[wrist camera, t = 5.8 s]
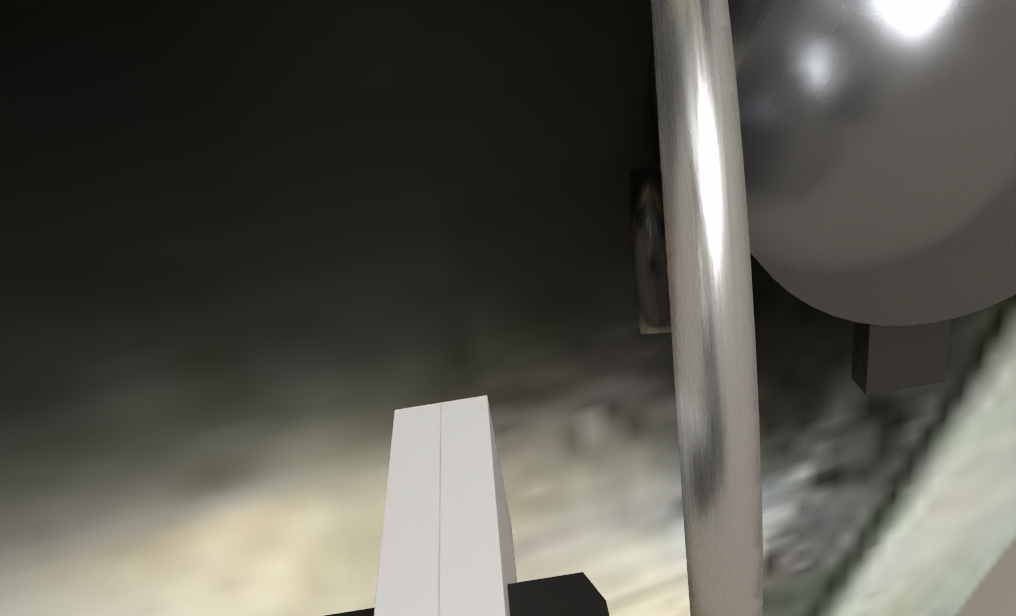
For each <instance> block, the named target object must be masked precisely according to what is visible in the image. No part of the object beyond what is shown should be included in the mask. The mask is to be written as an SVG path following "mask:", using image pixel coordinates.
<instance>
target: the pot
mask: <svg viewBox="0 0 1016 616" xmlns="http://www.w3.org/2000/svg"><path fill="white" fill-rule="evenodd" d="M728 7H729V15H730V24H731V33H732V43H733V53H734V63H735V73H736V83H737V93H738V104H739V116H740V127H741V139H742V151H743V162H744V175H745V189H746V202H747V216H748V230H749V243H750V252H751V254H752V255H753V256H754V257H755V258H756V259H757V260H758V262H759V263H760V264H761V265H762V266H763V267H764V269H765V270H766V271H767V272H768V273H769V274H770V275H771V277H772V278H773V279H774V280H776V281H777V282H778V283H779V284H780V285H781V286H783V287H784V288H785V289H786V290H787V291H788V292H790V293H791V294H792V295H794V296H795V297H797V298H799V299H800V300H802V301H803V302H805V303H807V304H808V305H810V306H811V307H814V308H816V309H818V310H821V311H823V312H825V313H828V314H830V315H832V316H836V317H839V318H843V319H847V320H850V321H854V340H853V360H852V379H853V380H854V382H855V383H856V384H857V385H858V386H859V387H860V389H861V390H862V391H863V392H864V393H865V394H866V395H868V394H874V393H880V392H886V391H891V390H897V389H903V388H909V387H915V386H921V385H927V384H933V383H939V382H944V381H945V372H946V363H947V354H948V346H949V337H950V328H951V319H952V318H957V317H961V316H964V315H967V314H970V313H973V312H976V311H979V310H982V309H985V308H987V307H990V306H992V305H994V304H996V303H999V302H1001V301H1003V300H1005V299H1007V298H1010V297H1012V296H1014V295H1016V0H728ZM650 92H651V99H652V107H653V113H654V117H655V121H656V113H655V99H654V97H655V96H656V95H657V91H656V75H655V58H654V43H653V50H652V58H651V66H650Z"/></svg>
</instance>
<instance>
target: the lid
mask: <svg viewBox="0 0 1016 616" xmlns="http://www.w3.org/2000/svg"><path fill="white" fill-rule="evenodd" d="M651 6H652V23H653V41H654V58H655V75H656V91H657V95H656V96H655V97H654V99H655V113H656V128H657V142H658V157H659V166H657V167H646V168H636V169H630V216H631V235H632V252H633V266H634V279H635V290H636V301H637V310H638V318H639V325H640V331H641V334H654V333H672V348H673V363H674V379H675V394H676V410H677V425H678V440H679V455H680V470H681V485H682V500H683V514H684V529H685V543H686V558H687V572H688V586H689V600H690V614H691V616H762V606H763V537H762V486H761V458H760V430H759V404H758V384H757V363H756V343H755V324H754V308H753V292H752V275H751V259H750V243H749V230H748V216H747V202H746V189H745V175H744V162H743V151H742V139H741V127H740V116H739V104H738V93H737V83H736V73H735V63H734V53H733V43H732V33H731V24H730V15H729V7H728V0H651Z"/></svg>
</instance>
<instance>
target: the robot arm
mask: <svg viewBox="0 0 1016 616" xmlns="http://www.w3.org/2000/svg"><path fill="white" fill-rule="evenodd" d="M326 616H609V612H608V608H607V604H606V600H605V599H604V598H603V596H602V595H601V594H600V593H599V592H598V590H597V589H596V588H595V587H594V585H593V584H592V583H591V582H590V580H589V579H588V578H587V577H586V575H585V574H584V573H583V572H581V573H575V574H569V575H562V576H556V577H550V578H543V579H537V580H531V581H525V582H518V583H517V576H516V567H515V557H514V548H513V538H512V529H511V521H510V516H509V511H508V505H507V500H506V495H505V489H504V484H503V478H502V473H501V468H500V462H499V457H498V451H497V446H496V441H495V435H494V430H493V425H492V419H491V414H490V408H489V403H488V398H487V395H486V396H480V397H473V398H467V399H461V400H455V401H448V402H442V403H436V404H430V405H423V406H417V407H411V408H405V409H398V410H395V414H394V424H393V433H392V443H391V453H390V463H389V473H388V483H387V492H386V502H385V512H384V522H383V532H382V542H381V552H380V561H379V571H378V581H377V591H376V601H375V608H370V609H364V610H357V611H351V612H345V613H338V614H332V615H326Z"/></svg>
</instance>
